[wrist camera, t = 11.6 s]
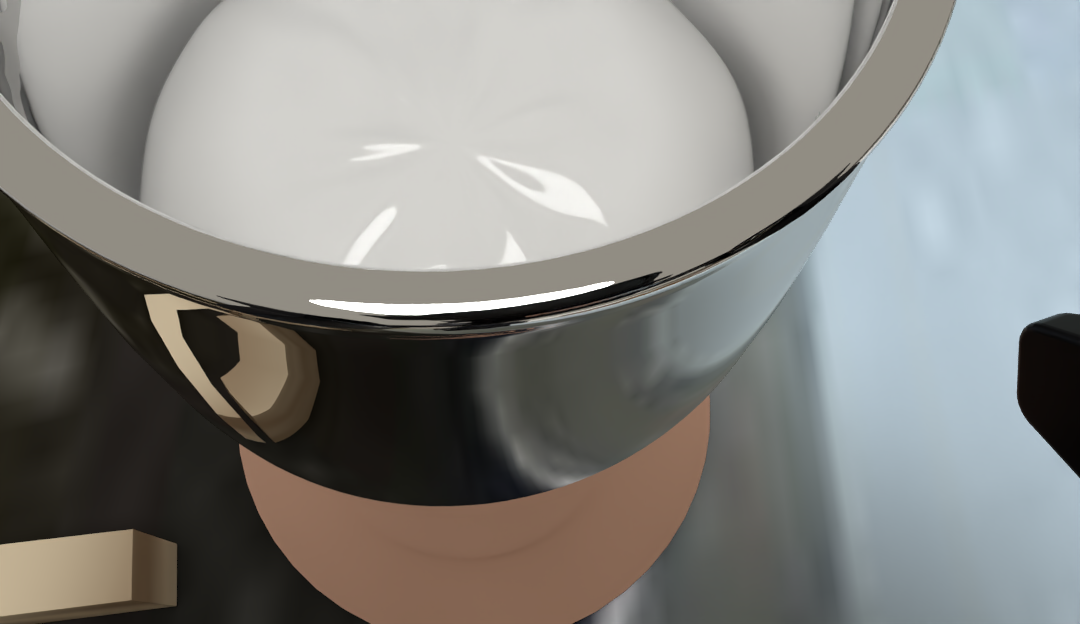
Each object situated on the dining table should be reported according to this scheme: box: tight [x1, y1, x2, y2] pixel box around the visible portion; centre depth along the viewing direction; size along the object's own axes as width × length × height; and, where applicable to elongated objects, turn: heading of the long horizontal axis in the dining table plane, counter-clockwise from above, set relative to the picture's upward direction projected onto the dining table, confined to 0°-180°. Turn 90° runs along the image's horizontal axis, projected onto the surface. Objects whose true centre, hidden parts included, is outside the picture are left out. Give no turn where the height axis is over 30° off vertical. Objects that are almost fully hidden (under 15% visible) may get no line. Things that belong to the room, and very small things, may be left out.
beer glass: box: [0, 0, 956, 559], centre depth 13 cm, size 7×7×15 cm
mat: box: [239, 395, 710, 624], centre depth 20 cm, size 10×10×1 cm
